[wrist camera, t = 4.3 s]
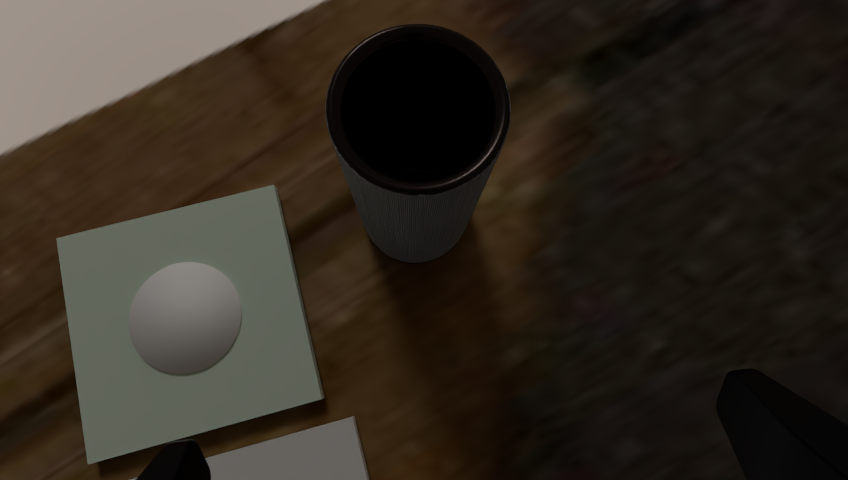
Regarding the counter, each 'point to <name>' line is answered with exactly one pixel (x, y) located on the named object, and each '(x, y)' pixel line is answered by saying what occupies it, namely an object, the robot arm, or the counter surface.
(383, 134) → the grey cylinder
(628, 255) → the counter surface
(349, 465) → the pad
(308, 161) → the counter surface
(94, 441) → the pad
